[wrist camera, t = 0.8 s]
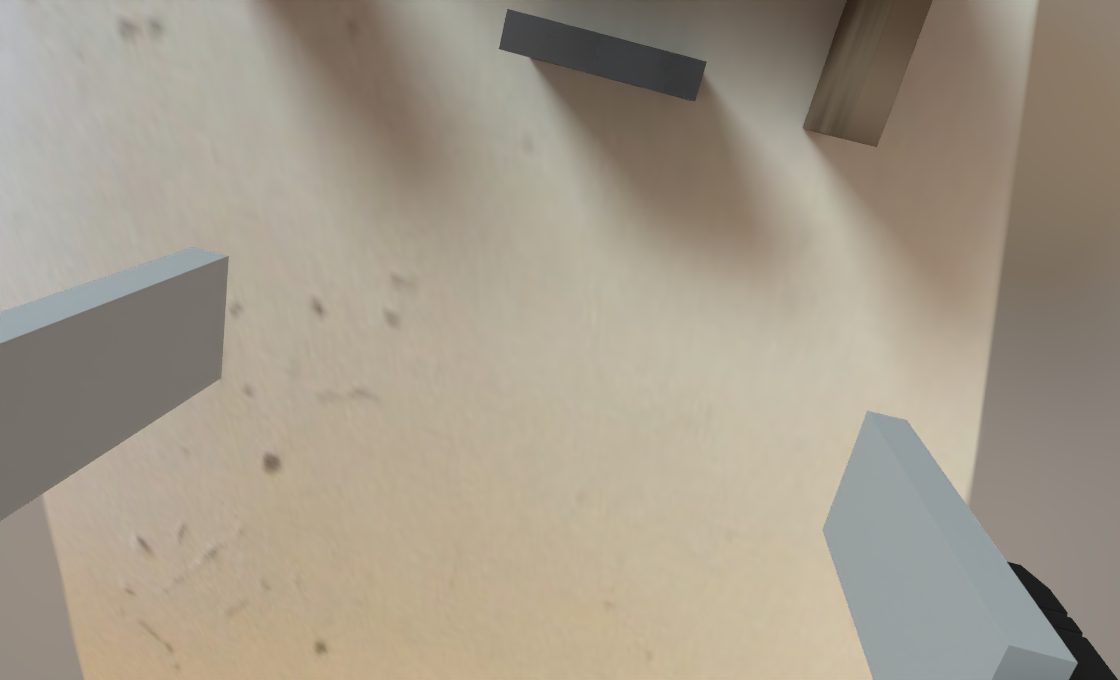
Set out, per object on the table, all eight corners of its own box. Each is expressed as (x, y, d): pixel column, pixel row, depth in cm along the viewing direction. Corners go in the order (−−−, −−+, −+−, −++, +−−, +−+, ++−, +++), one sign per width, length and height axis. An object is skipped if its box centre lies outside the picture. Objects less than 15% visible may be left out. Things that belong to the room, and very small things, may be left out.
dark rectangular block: (536, 24, 37) (507, 9, 30) (699, 67, 36) (706, 61, 30) (528, 57, 37) (499, 48, 30) (689, 100, 37) (694, 101, 30)
